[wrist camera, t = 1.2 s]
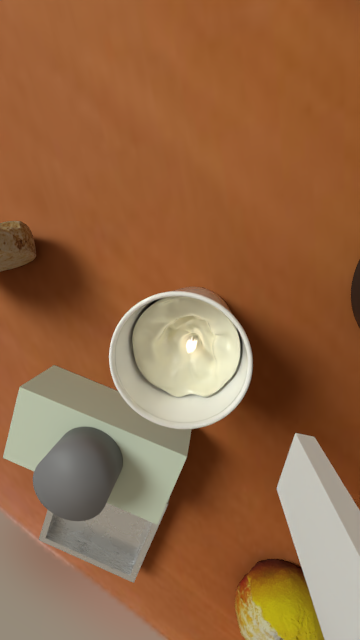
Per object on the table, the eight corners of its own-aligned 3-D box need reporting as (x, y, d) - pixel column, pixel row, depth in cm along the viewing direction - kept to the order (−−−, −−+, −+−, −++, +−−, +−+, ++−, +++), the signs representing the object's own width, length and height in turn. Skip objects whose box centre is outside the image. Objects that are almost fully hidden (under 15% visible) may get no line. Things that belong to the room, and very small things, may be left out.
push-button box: (192, 421, 33) (181, 489, 23) (166, 483, 35) (146, 568, 25) (54, 365, 34) (-13, 407, 24) (37, 428, 36) (-30, 490, 26)
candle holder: (243, 364, 31) (257, 428, 19) (156, 369, 32) (120, 432, 20) (236, 274, 29) (247, 283, 17) (144, 284, 30) (97, 299, 19)
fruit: (216, 564, 36) (236, 638, 28) (287, 529, 37) (326, 591, 29) (244, 632, 38) (270, 721, 30) (312, 596, 39) (356, 673, 31)
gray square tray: (171, 487, 35) (168, 503, 33) (138, 563, 38) (133, 582, 36) (73, 445, 36) (63, 458, 33) (49, 523, 39) (38, 540, 37)
